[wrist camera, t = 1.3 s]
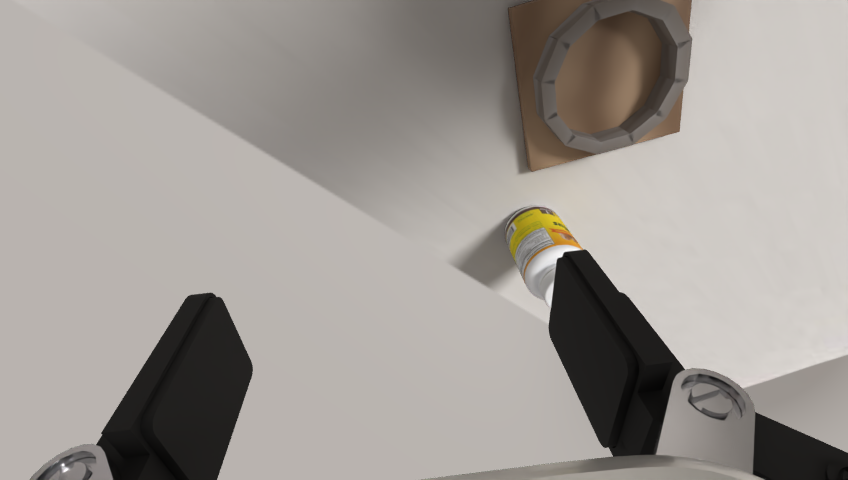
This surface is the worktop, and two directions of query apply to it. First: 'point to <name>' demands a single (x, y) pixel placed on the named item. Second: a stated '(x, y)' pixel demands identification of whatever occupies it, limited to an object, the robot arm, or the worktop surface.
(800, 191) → the worktop surface
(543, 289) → the supplement bottle
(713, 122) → the worktop surface
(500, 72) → the worktop surface
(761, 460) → the robot arm
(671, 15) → the rosette collar
